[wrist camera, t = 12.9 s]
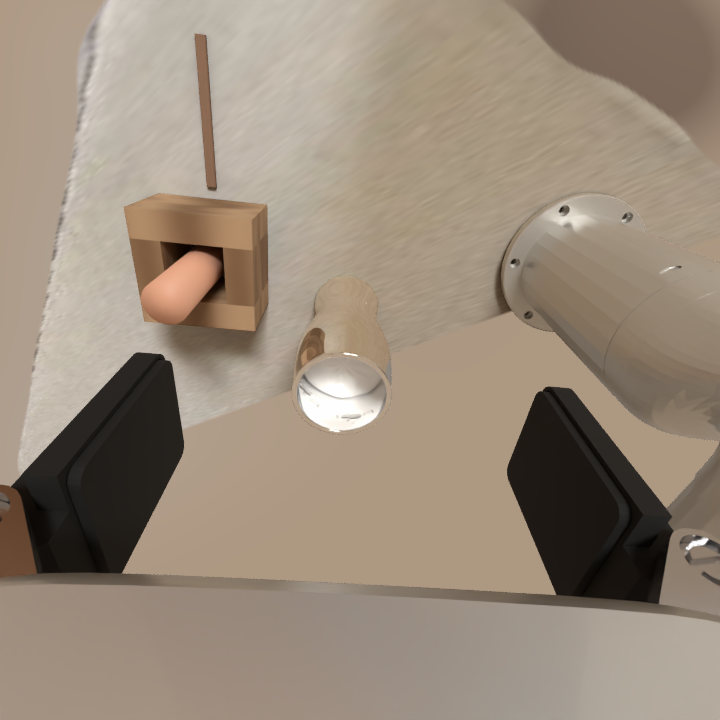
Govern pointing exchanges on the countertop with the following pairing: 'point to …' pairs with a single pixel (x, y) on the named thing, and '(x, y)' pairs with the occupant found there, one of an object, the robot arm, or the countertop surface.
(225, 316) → the wooden block with hole
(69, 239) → the countertop surface
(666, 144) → the countertop surface
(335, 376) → the beer glass
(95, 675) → the robot arm
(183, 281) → the dowel
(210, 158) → the brown thin square rod
